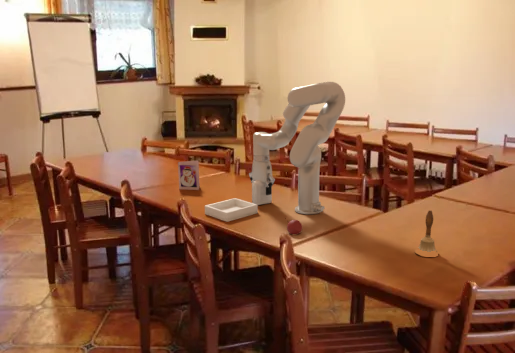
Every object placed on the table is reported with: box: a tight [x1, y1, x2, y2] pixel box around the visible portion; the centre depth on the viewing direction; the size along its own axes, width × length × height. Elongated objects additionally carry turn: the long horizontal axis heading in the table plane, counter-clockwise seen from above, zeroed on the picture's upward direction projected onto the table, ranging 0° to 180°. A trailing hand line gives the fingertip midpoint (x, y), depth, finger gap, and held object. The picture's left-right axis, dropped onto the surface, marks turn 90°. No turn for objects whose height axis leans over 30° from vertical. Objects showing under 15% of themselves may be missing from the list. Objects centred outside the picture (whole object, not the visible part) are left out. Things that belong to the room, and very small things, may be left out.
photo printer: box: [251, 180, 273, 206], centre depth 246 cm, size 10×4×12 cm, turn 123°
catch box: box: [204, 197, 259, 222], centre depth 232 cm, size 16×18×4 cm
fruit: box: [285, 218, 303, 235], centre depth 206 cm, size 6×6×8 cm
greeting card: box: [177, 160, 200, 191], centre depth 278 cm, size 11×7×15 cm, turn 76°
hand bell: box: [417, 210, 437, 252], centre depth 180 cm, size 8×8×16 cm
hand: (261, 192), depth 247 cm, fingers open, 9 cm apart
